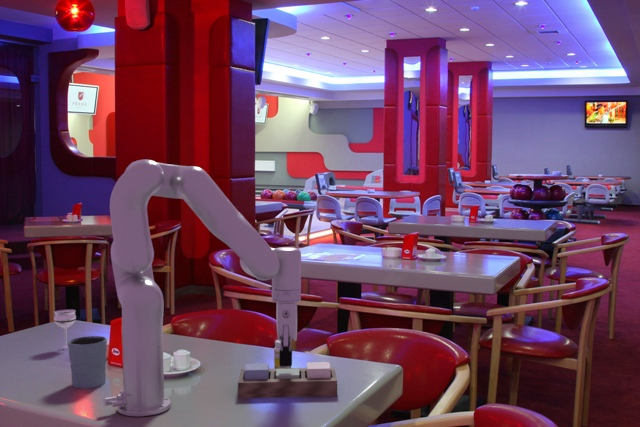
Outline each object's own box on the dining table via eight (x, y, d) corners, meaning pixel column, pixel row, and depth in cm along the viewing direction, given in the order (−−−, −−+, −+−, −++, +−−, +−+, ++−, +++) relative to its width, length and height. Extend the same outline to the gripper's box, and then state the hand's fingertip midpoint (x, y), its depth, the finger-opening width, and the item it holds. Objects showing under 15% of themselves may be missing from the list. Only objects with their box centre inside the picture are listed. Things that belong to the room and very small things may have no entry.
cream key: (307, 382, 184) (307, 368, 184) (306, 375, 190) (306, 362, 190) (330, 381, 185) (330, 368, 184) (329, 375, 191) (329, 362, 190)
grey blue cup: (81, 391, 187) (79, 346, 187) (61, 384, 194) (60, 340, 193) (115, 383, 195) (114, 339, 194) (95, 375, 202) (94, 333, 201)
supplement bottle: (282, 366, 209) (281, 338, 209) (294, 369, 206) (293, 340, 206) (270, 370, 206) (270, 341, 205) (283, 373, 203) (282, 343, 202)
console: (238, 398, 181) (237, 382, 181) (241, 383, 193) (241, 369, 193) (337, 396, 182) (337, 380, 182) (334, 381, 194) (334, 367, 194)
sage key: (276, 389, 184) (275, 375, 184) (276, 381, 190) (276, 368, 190) (299, 388, 184) (299, 375, 184) (299, 381, 190) (299, 368, 190)
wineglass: (71, 344, 238) (70, 308, 237) (80, 348, 233) (79, 311, 232) (51, 348, 233) (50, 311, 232) (60, 351, 228) (58, 314, 227)
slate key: (244, 383, 184) (244, 370, 184) (246, 376, 190) (245, 363, 190) (268, 383, 184) (268, 369, 184) (268, 376, 190) (268, 363, 190)
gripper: (301, 300, 178) (300, 373, 179) (300, 290, 193) (299, 357, 194) (270, 300, 178) (270, 373, 179) (272, 290, 193) (271, 357, 194)
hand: (285, 365), depth 187 cm, fingers closed
